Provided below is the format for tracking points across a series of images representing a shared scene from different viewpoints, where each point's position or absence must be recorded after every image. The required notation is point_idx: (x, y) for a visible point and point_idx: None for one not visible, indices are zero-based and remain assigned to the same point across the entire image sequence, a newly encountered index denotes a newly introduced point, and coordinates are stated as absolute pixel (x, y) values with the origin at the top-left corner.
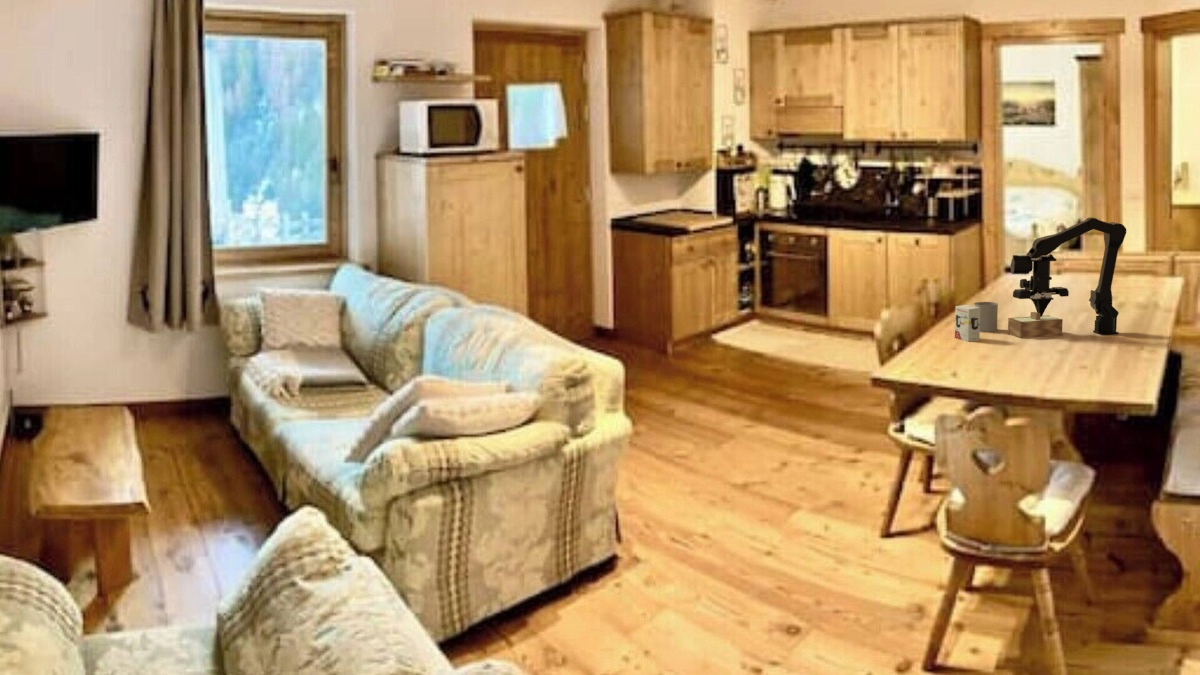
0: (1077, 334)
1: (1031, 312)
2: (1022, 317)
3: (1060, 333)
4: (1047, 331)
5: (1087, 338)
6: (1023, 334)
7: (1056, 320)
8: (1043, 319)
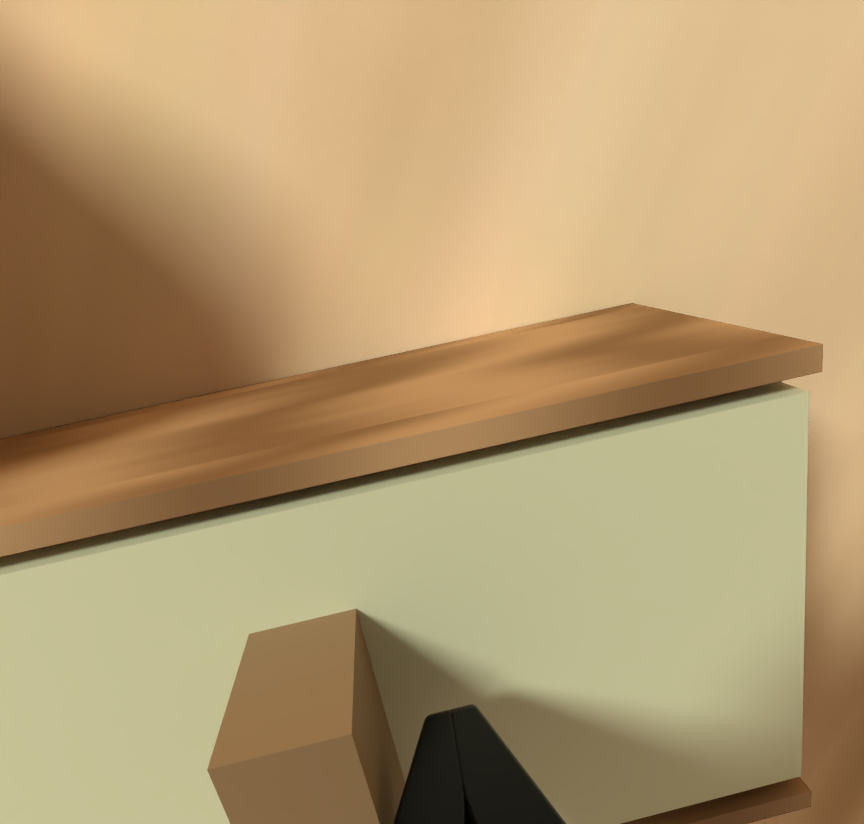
0: (842, 573)
1: (227, 809)
2: (59, 538)
3: None
4: None
5: (808, 777)
6: None
7: (683, 821)
8: None
